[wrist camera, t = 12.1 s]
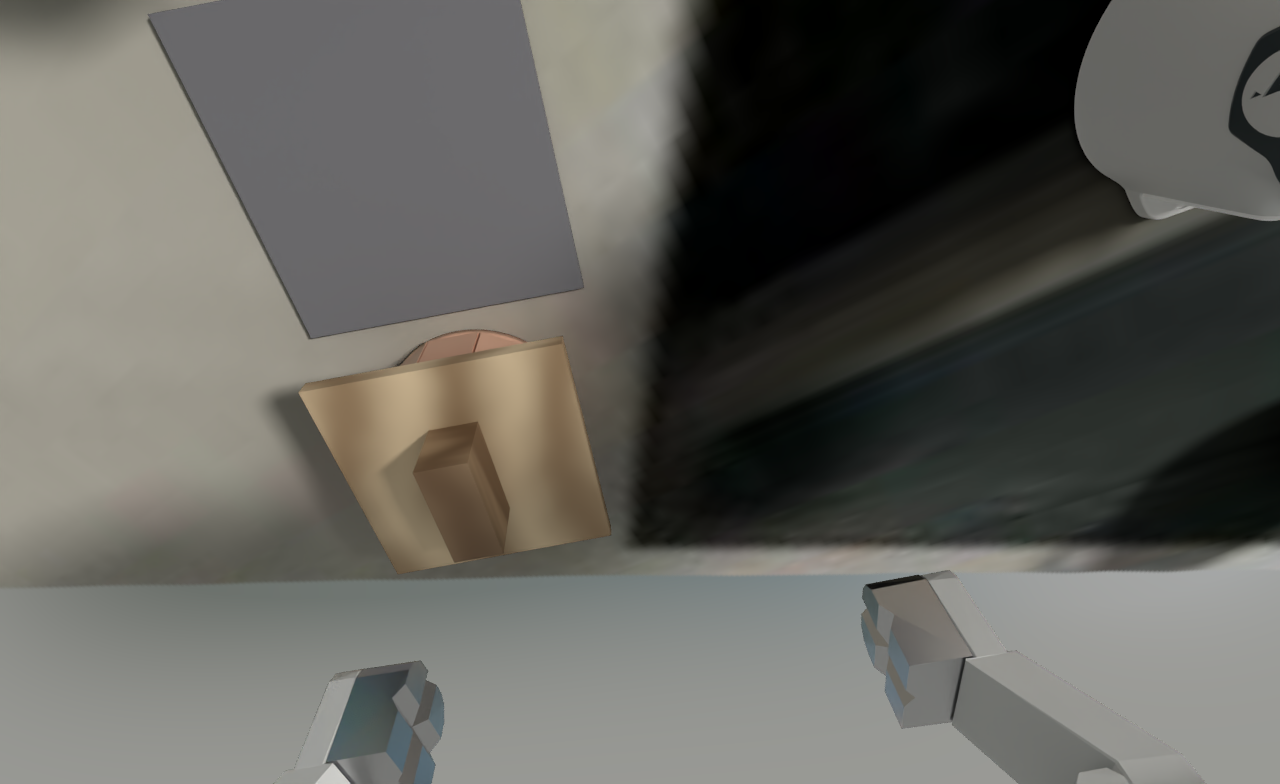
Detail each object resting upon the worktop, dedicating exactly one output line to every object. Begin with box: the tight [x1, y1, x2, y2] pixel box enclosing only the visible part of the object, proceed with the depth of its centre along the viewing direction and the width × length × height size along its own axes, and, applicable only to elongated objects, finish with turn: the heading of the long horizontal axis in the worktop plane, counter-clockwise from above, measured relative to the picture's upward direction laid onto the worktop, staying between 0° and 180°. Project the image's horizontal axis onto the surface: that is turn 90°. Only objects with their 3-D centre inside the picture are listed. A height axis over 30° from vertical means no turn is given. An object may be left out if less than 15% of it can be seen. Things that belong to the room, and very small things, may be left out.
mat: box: [148, 0, 584, 338], centre depth 34 cm, size 18×18×1 cm
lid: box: [298, 336, 611, 574], centre depth 36 cm, size 15×15×5 cm
